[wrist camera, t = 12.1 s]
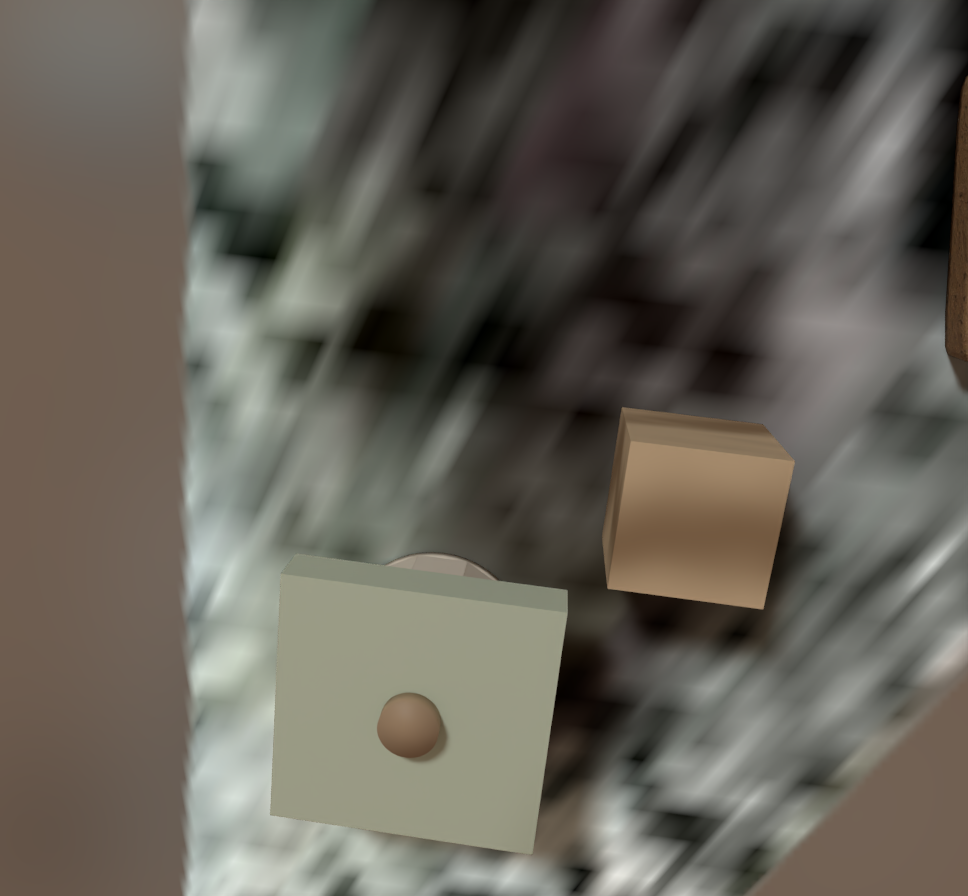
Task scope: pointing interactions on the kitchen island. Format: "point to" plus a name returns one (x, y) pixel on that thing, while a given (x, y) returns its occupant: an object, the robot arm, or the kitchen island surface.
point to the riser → (694, 508)
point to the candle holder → (959, 242)
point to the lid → (414, 701)
